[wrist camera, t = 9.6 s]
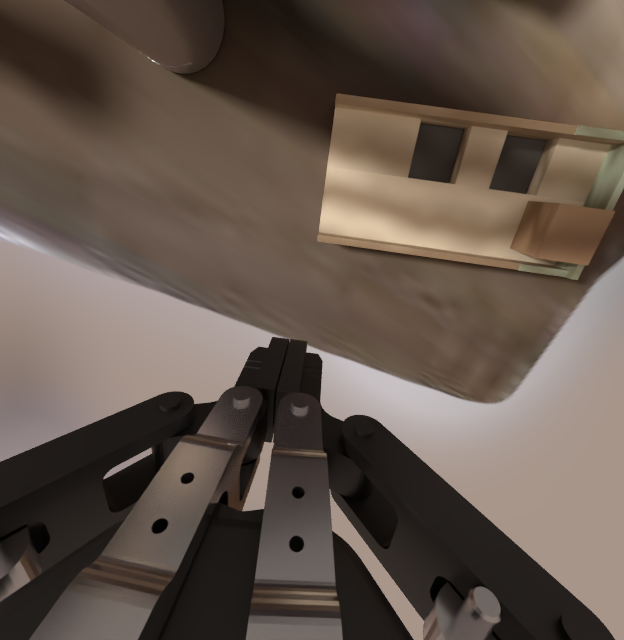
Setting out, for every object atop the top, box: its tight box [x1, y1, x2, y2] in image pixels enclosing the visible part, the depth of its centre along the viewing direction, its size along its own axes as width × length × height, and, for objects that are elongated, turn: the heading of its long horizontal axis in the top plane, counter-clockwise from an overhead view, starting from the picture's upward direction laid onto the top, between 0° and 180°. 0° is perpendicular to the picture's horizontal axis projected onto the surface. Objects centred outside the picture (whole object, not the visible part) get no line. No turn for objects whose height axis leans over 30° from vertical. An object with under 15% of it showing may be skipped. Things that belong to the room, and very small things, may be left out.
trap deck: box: [317, 93, 624, 280], centre depth 32 cm, size 13×28×5 cm, turn 83°
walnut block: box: [510, 201, 616, 266], centre depth 31 cm, size 5×5×5 cm
